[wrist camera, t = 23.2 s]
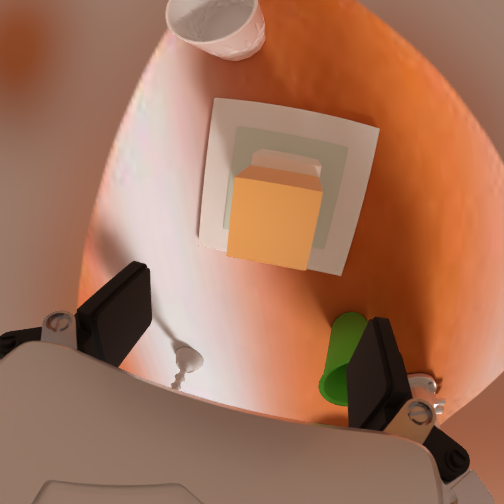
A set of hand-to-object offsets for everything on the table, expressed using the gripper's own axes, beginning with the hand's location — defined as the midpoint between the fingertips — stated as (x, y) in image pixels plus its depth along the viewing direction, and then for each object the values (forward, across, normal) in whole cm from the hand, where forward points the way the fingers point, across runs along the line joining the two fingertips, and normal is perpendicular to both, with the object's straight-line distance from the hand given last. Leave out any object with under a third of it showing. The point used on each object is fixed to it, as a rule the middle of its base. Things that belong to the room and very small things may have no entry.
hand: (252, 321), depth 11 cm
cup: (+24, -12, +16) cm, 31 cm away
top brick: (+16, +1, -1) cm, 16 cm away
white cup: (+23, +9, -18) cm, 30 cm away
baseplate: (+23, +1, -1) cm, 23 cm away
